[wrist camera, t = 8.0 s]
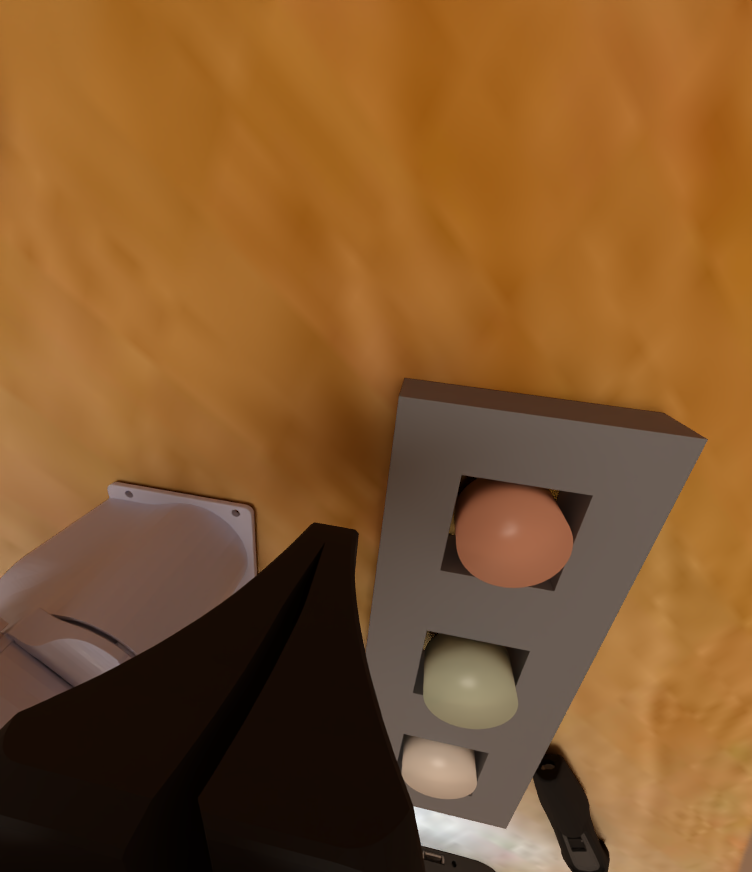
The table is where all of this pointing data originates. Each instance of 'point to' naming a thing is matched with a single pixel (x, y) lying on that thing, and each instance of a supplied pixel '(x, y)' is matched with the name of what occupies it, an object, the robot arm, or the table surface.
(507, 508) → the terracotta button
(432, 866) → the media streaming box
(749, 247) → the table surface
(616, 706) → the table surface
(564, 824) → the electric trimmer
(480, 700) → the sage button
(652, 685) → the table surface
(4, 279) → the table surface
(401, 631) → the button panel
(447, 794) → the cream button
